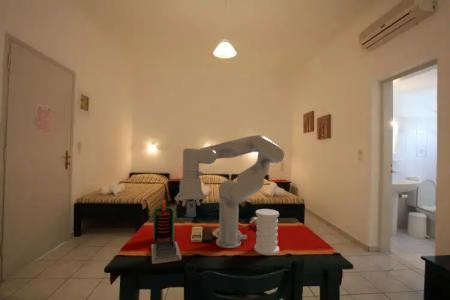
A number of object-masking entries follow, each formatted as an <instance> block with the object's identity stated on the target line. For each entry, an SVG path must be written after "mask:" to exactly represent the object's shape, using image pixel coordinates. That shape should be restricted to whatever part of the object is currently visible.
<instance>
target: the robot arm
mask: <svg viewBox="0 0 450 300" xmlns="http://www.w3.org/2000/svg"><path fill="white" fill-rule="evenodd" d="M251 153H257V159H256V162H255V163H254V164H253V165H251V166H250V167H248V168H246V169H245V170H243V171H241V172H240V173H238V175H237V176H236V177H237V178H236V181H233V180H223V181H222V182H221V183H220V184H219V187H218V198H219V199H218V200H219V220H218V221H219V228H218V229H219V230H218V231H219V232H218V233H219V235H218V236H219V237H218V238H216V240H215V244H216V246H218V247H219V248H224V249H234V248H238V247H240V246H241V244H242V241H241V240H246V239H248V235H247V234H243V233H239V212H240V211H239V209H240V208H239V204H241V203H243V202H245V201H247V200H248V199H250V198H252V196H255V195H256V194H257V193H258V192H260V191H261V189H262V188H263V187H264V183H265V177H266V176H267V175H268V173H269V172H270V171H269V170H270V164H278V163H281V162H282V161H283V160H284V158H285V152H284V150H283V148H281V147H280V146H279V145H278V144H276V143H274V142H273V141H271V140H270V139H268V137H266V136H264V135H261V134H259V135H258V134H257V135H249V136H245V137H242V138H238V139H236V138H235V139H233V140H229V141H225V142H222V143H217V144H214V145H213V144H212V145H209V146H206V147H205V146H204V147H201V148H184V149H183V150H182V177H180V181H179V189H178V190H179V192H178V193H177V194H176V196H175V197H174V200H175V201H176V202H177V203H178V204H180V205H181V212H182V214H183V215H184V216H185V214H186V206H185V203H186V200H190V199H193V200H196V215H198V214H199V211H200V204H202V202H203V201H204V200H206V198H207V195H206V194H204V193H203V188H202V179H201V177H200V176H202V175H203V172H201V171H200V164H203V165H210V164H211V165H212V164H213V163H215V161H216V160H218V159H230V158H231V159H232V158H236V157H240V156H243V155H246V154H251Z"/></svg>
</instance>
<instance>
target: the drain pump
mask: <svg viewBox="0 0 450 300" xmlns="http://www.w3.org/2000/svg"><path fill="white" fill-rule="evenodd" d="M185 206H186V214H185V215H184V217H187V218H194V217H196V216H197V214H196V200H195V199H190V200H186V203H185Z"/></svg>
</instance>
